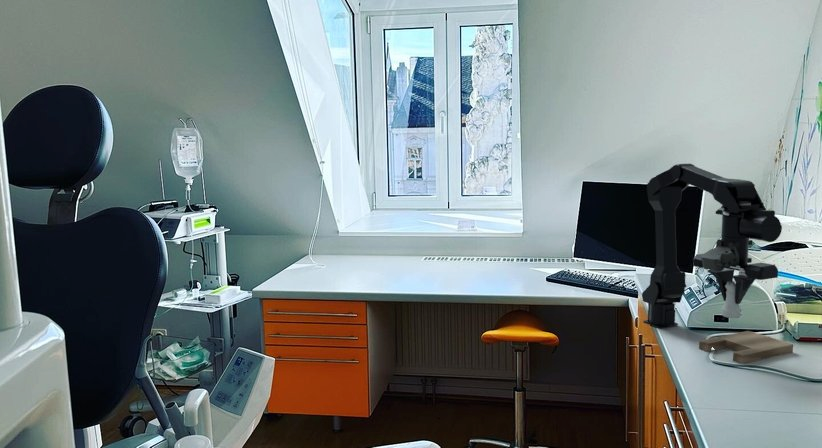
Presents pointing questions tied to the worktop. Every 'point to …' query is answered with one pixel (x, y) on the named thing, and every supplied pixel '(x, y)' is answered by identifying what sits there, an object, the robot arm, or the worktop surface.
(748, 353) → the notched board
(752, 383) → the worktop surface
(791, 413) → the worktop surface
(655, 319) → the robot arm
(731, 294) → the rook chess piece
